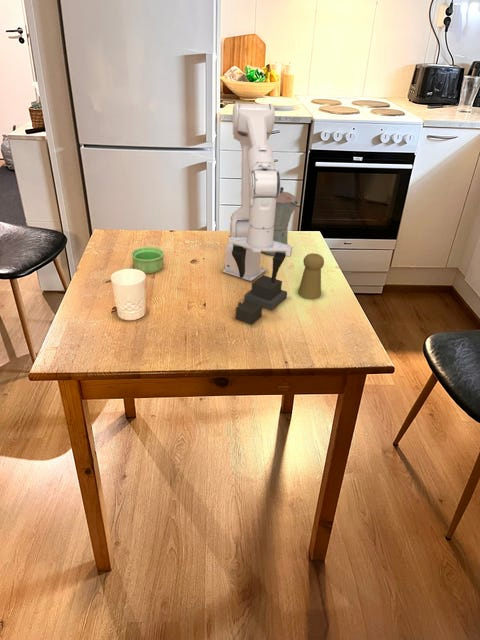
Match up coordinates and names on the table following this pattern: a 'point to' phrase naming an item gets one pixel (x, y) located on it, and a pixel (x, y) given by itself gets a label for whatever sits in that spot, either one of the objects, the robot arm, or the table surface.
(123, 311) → the white cup
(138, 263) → the ramekin
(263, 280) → the middle pad
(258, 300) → the base pad
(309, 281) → the olive game pawn
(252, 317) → the top pad
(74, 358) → the table surface
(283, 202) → the moka pot
